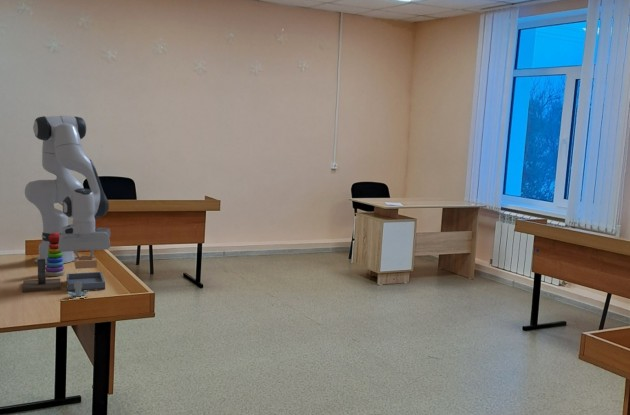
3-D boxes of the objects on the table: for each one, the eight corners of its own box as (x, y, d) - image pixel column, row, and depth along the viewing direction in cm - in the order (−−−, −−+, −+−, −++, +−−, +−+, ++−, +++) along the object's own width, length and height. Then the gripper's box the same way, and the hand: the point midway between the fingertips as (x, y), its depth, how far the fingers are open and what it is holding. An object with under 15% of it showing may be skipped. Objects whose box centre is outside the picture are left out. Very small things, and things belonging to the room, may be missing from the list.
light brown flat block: (74, 262, 259) (74, 255, 259) (94, 261, 263) (94, 254, 262) (75, 268, 248) (75, 261, 248) (96, 267, 252) (96, 260, 251)
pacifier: (88, 299, 237) (88, 295, 243) (88, 284, 236) (88, 279, 242) (68, 301, 235) (68, 296, 240) (67, 285, 234) (67, 280, 239)
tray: (66, 280, 262) (66, 273, 262) (101, 278, 268) (101, 271, 267) (67, 291, 246) (67, 284, 246) (105, 289, 251) (105, 282, 251)
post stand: (23, 283, 256) (22, 256, 254) (60, 281, 261) (59, 255, 260) (22, 292, 243) (21, 264, 242) (60, 289, 249) (60, 262, 247)
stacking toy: (57, 277, 267) (56, 234, 264) (40, 276, 268) (39, 233, 266) (68, 273, 275) (67, 231, 272) (52, 271, 276) (51, 230, 274)
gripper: (109, 226, 264) (110, 258, 266) (57, 227, 256) (58, 260, 258) (111, 228, 259) (111, 261, 260) (57, 230, 251) (58, 263, 252)
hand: (84, 260), depth 259 cm, fingers closed on light brown flat block, 2 cm apart
